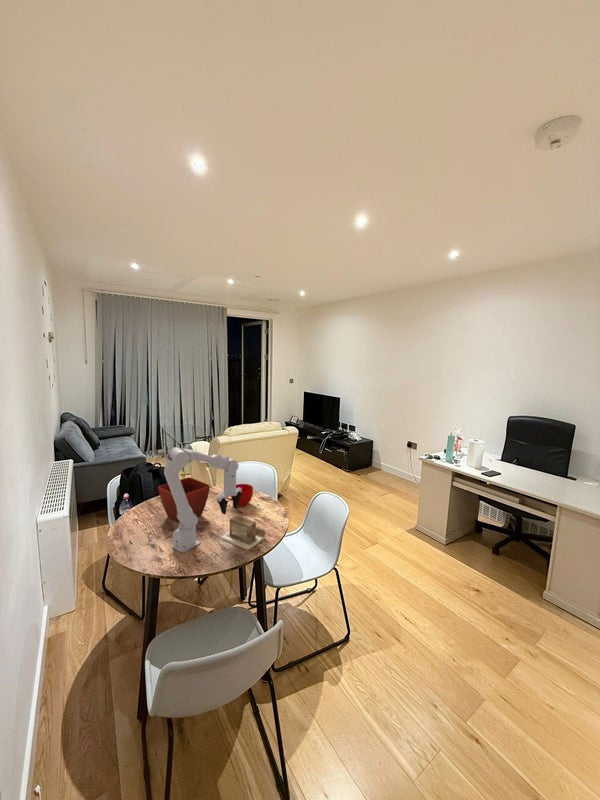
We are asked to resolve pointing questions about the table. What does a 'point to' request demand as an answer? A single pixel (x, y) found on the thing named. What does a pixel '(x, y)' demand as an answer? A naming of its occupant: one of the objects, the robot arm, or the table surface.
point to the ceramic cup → (244, 494)
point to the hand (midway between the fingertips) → (229, 510)
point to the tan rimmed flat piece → (259, 537)
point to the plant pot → (194, 494)
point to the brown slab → (242, 529)
